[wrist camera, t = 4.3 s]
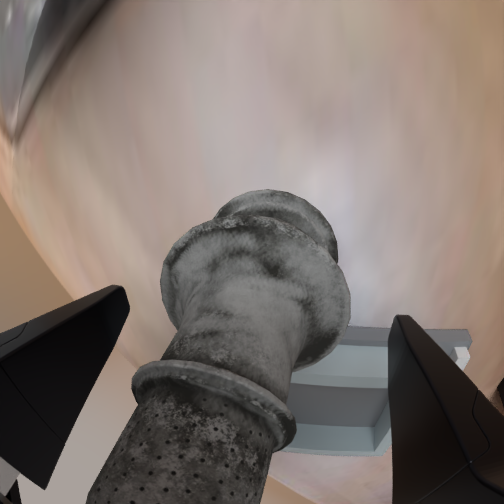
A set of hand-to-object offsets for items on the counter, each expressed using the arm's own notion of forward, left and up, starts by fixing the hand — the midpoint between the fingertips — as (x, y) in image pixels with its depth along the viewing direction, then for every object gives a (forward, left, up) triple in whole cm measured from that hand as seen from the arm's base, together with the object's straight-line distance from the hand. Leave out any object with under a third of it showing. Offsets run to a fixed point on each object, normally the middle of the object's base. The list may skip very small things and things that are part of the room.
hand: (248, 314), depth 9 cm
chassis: (-4, +13, -8) cm, 16 cm away
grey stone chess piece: (0, 0, -4) cm, 4 cm away
